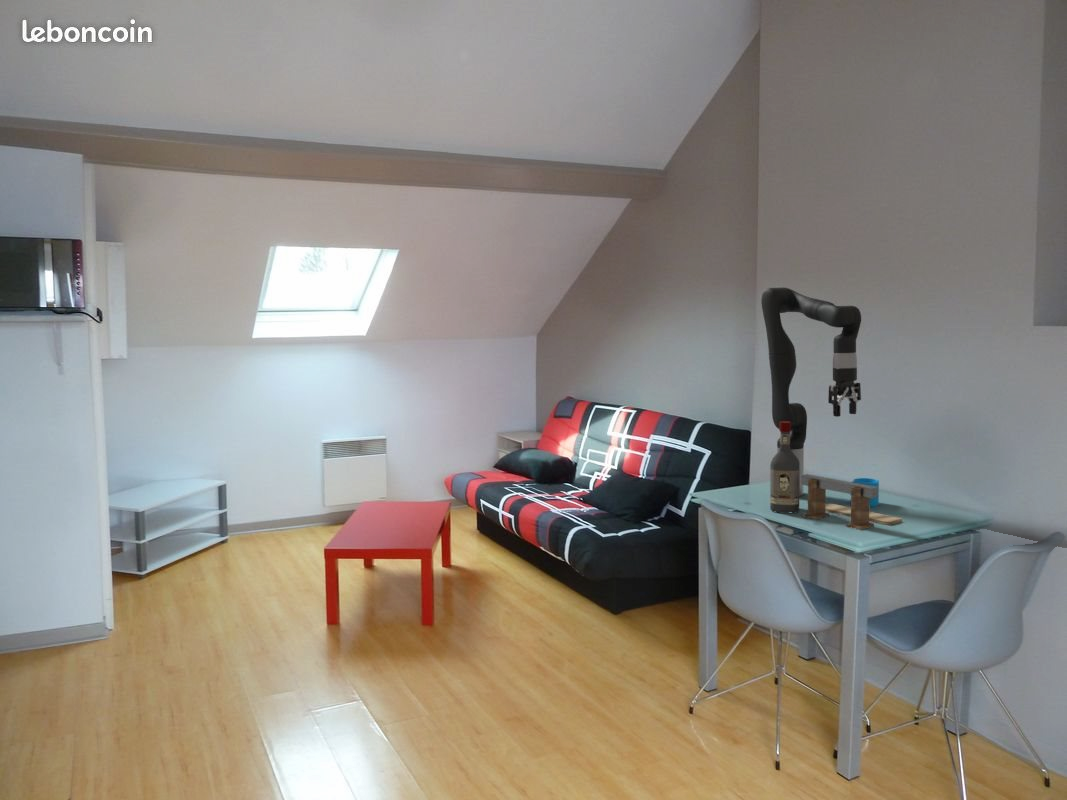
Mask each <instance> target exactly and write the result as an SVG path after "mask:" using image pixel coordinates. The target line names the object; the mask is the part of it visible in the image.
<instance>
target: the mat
mask: <svg viewBox="0 0 1067 800" xmlns="http://www.w3.org/2000/svg"><path fill="white" fill-rule="evenodd" d="M826 511H827V512H826ZM825 512H826V513H831V512H832V514H835V513H836V515H840V514H841V516H844V515H845V516H844V517H849V516H850V517H849V518H851V506H850V507H849V506H845V505H840V504H835V503H829V504H825ZM869 522H870V523H877V524H882V525H885V526H893V525H896V524H899V523H903V518H901V517H897V516H891V515H886V514H882V513H879V512H878V513H877V512H873V511H869Z"/></svg>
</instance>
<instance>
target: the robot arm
mask: <svg viewBox="0 0 1067 800" xmlns="http://www.w3.org/2000/svg"><path fill="white" fill-rule="evenodd" d="M760 301H761V302H760V303H761V310H762V314H763V315H762V316H763V319H764V320H763V321H764V325H765V331H766V338H767V339H766V340H767V347H768V360H769V368H770V369H769V370H770V379H771V380H770V381H771V382H770V383H771V414H772V415H771V417H772V422H773V424H774V426H775V427H776V428H777V429H778V430H779V427H780V422H781V421H789V422H791V431H790V448H791V451H792V452H793V453H794V455H795V456H796V457H797V458H798V459H799V462H800V477H799V497H801V496H803V495H804V485H802V484H801V475H805V474H804V472H805V471H804V467H805V466H804V461H805V460H804V454H805V453H804V450H805V448H804V447H805V446H804V445H805V442H806V438H807V429H808V428H807V427H808V414H807V411H806V408H805V406H804V405H803V404H801V403H799V402H791V403H790V399H789V398H790V396H789V393H790V386H791V383H792V381H793V378H794V376H795V373H796V370H797V355H796V348H795V345H794V344H793V342H792V340H791V339H790V337H789V335H788V334H787V332H786V330H785V329H784V327H783V324H782V319H781V314H786V313H800V314H803V315H804V316H805V317H806V318H809V319H811V320H814V321H818V322H821V323H824V324H826V325H828V326H829V327H833V328H842V331H841V333H840V334H837V335H836V336H834V338H833V355H832V381H834V382H835V385H834V384H833V385H832V384H831V385H830V384H829V386H828V399H827V401H828V404H831V405H832V410H833V411H832V414H833V416H834V417H839V418H840V417H841V414H842V413H841V403H842V402H843V400H845V398H846V399H847V400H848V402H849V403H848V413H849V414H850V415H856V414H857V403H858V402H859V401H861V400H862V394H861V393H862V392H861V391H862V390H861V383H860V382H855V381H857V379H858V360H857V359H858V357H857V339H858V335H859V330H860V327H861V322H862V314H861V311H860V309H859V308H858V307H857V306H855V305H835V304H834V303H833V302H831V301H827V300H822V299H818V298H813V297H809V296H806V295H804V294H801V293H799V292H797V291H795V290H794V289H791V288H788V287H768V288H766V289H764V290H763V293H762V294H761V300H760ZM779 450H780V438H778V439H777V441H776V454H777V453H778V451H779Z"/></svg>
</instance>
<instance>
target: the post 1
mask: <svg viewBox="0 0 1067 800" xmlns="http://www.w3.org/2000/svg"><path fill="white" fill-rule="evenodd" d="M826 491H827V489H822V488H817V480H812V479H808V486H807V513H803V516H805V517H804V518H807V517H809V518H808V519H811V518H813V519H812V520H816V519H817V520H819V518H820V519H823V518H822V517H824V518H827V517H826V516H828V517H830V516H831V513H830V512H826V511H825V505H827V504H826V498H827V497H826V496H827V495H826V494H827V493H826Z"/></svg>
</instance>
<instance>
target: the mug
mask: <svg viewBox="0 0 1067 800" xmlns="http://www.w3.org/2000/svg"><path fill="white" fill-rule="evenodd" d="M851 482H853V483H858V484H864V485H869V486H875V487H878V497H875V498H870V504H869V506H872V507H877V506H879V502H880V501H879V496H880V494H879V491H880V488H879V487H880V481H879V479H875V478H869V477H857V478H854V479H853V480H852V481H851ZM849 495H850V496H851V494H849ZM876 505H877V506H876Z"/></svg>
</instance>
